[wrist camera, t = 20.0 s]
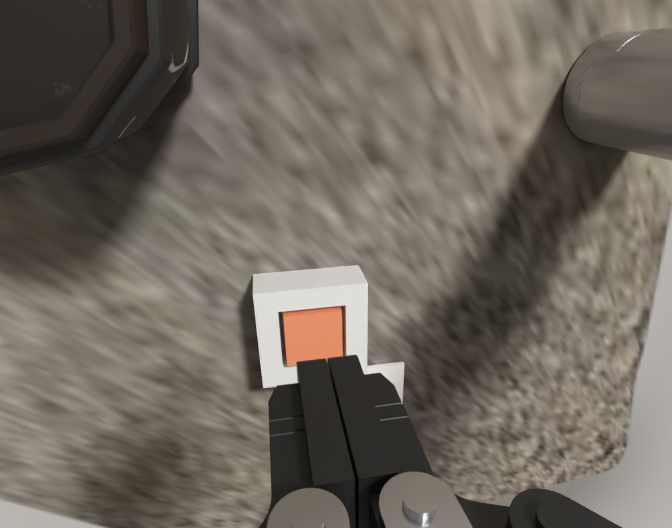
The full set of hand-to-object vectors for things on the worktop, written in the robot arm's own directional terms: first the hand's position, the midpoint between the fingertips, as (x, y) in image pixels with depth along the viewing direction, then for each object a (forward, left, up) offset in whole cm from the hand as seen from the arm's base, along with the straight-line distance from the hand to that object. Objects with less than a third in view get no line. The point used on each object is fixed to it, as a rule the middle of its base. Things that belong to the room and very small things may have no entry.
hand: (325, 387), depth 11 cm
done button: (-2, +15, -28) cm, 32 cm away
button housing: (-2, +15, -29) cm, 33 cm away
